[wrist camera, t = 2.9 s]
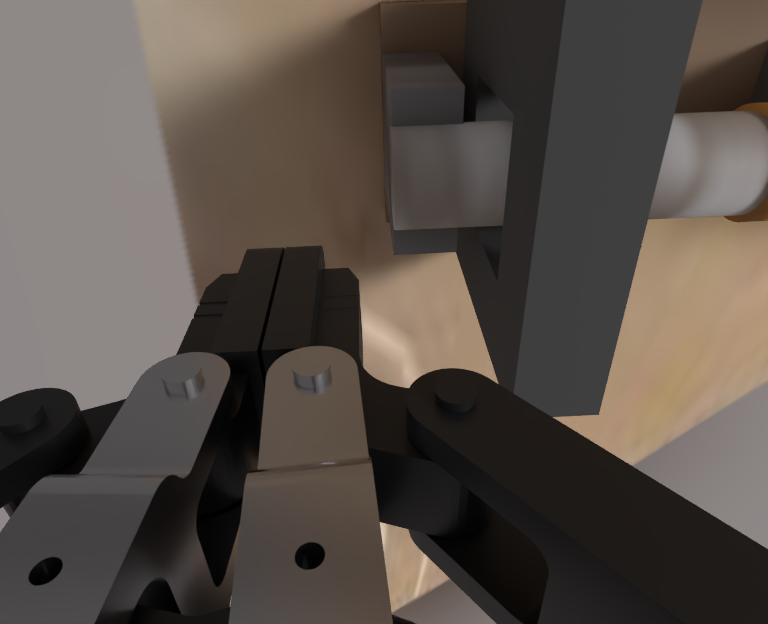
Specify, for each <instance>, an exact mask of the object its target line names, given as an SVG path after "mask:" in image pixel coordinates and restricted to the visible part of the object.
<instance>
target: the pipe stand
mask: <svg viewBox="0 0 768 624" xmlns="http://www.w3.org/2000/svg"><path fill="white" fill-rule="evenodd" d="M466 9H467V0H433V1H405V2H380V32H381V68H382V103H383V139H384V174H385V209H386V219H387V222H390V226H391V234H392V242H393V250H394V255H397V254H419V253H442V252H457V236H458V228H459V227H482V226H503V220H504V209H505V199H506V189H507V179H508V168H509V158H510V148H511V138H512V127H513V120H499V121H474V122H463V113H464V93H465V86H464V84H463V72H464V51H465V30H466ZM711 216H724V217H725V218H727V219H728V220H731V221H734V222H749V221H768V0H703V2H702V6H701V10H700V14H699V18H698V22H697V26H696V30H695V33H694V37H693V41H692V45H691V49H690V53H689V57H688V61H687V65H686V69H685V73H684V77H683V81H682V85H681V89H680V93H679V97H678V101H677V105H676V109H675V113H674V117H673V121H672V125H671V129H670V133H669V137H668V141H667V145H666V149H665V153H664V157H663V161H662V165H661V169H660V173H659V177H658V181H657V185H656V189H655V193H654V197H653V201H652V205H651V209H650V213H649V216H648V219H665V218H688V217H711Z"/></svg>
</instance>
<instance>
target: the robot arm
mask: <svg viewBox="0 0 768 624" xmlns="http://www.w3.org/2000/svg"><path fill="white" fill-rule="evenodd" d="M2 507H4V509H5V510H6V512H7V513H8V515H9V517H10V519H9V521H8V522H7V523H6V525H5V527H4V528H3V529H2V531H1V532H0V624H415V623H413V622H411V621H409V620H406V619H403V618H400V617H398V616H395V615H392V612H391V605H390V597H389V589H388V582H387V574H386V567H385V559H384V551H383V544H382V536H381V528H380V522H382V523H386V524H390V525H394V526H398V527H402V528H406V529H409V533H410V536H411V538H412V540H413V541H414V543H415V544H416V545H417V546H418V548H419V549H420V550H421V551H422V552H423V553H424V554H425V555H427V556H428V557H429V558H430V559H431V560H432V561H433V562H434V563H435V564H436V565H437V566H438V567H439V568H440V569H441V570H442V571H443V572H444V573H445V574H446V575H447V576H448V577H449V578H450V579H451V580H452V581H453V582H454V583H455V584H457V586H458V587H459V588H461V589H462V590H463V591H464V592H465V593H466V594H467V595H468V596H469V597H470V598H471V599H472V600H473V601H474V602H475V603H476V604H477V605H478V606H479V607H480V608H481V609H482V610H483V611H484V612H485V613H486V614H487V615H488V616H490V618H491V619H493V620H494V621H495V622H496V623H497V624H768V549H766V548H765V547H763V546H762V545H760V544H758V543H757V542H755V541H753V540H752V539H750V538H748V537H747V536H745V535H744V534H742V533H740V532H739V531H737V530H735V529H734V528H732V527H731V526H729V525H727V524H725V523H724V522H722V521H721V520H719V519H718V518H716V517H714V516H713V515H711V514H709V513H708V512H706V511H704V510H703V509H701V508H700V507H698V506H696V505H695V504H693V503H691V502H690V501H688V500H686V499H685V498H683V497H682V496H680V495H678V494H676V493H675V492H673V491H672V490H670V489H669V488H667V487H665V486H664V485H662V484H660V483H659V482H657V481H656V480H654V479H652V478H651V477H649V476H647V475H646V474H644V473H642V472H641V471H639V470H638V469H636V468H634V467H633V466H631V465H629V464H628V463H626V462H624V461H623V460H621V459H620V458H618V457H616V456H615V455H613V454H611V453H610V452H608V451H607V450H605V449H603V448H602V447H600V446H598V445H597V444H595V443H593V442H592V441H590V440H589V439H587V438H585V437H584V436H582V435H580V434H579V433H577V432H575V431H574V430H572V429H571V428H569V427H567V426H566V425H564V424H562V423H561V422H559V421H558V420H556V419H554V418H553V417H551V416H549V415H548V414H546V413H544V412H543V411H541V410H540V409H538V408H536V407H535V406H533V405H531V404H530V403H528V402H527V401H525V400H523V399H522V398H520V397H518V396H517V395H515V394H513V393H512V392H510V391H509V390H507V389H505V388H504V387H502V386H500V385H499V384H497V383H495V382H494V381H492V380H491V379H489V378H487V377H485V376H483V375H482V374H479V373H476V372H474V371H470V370H465V369H455V368H449V369H440V370H435V371H432V372H429V373H427V374H425V375H423V376H421V377H419V378H418V379H417V380H415V381H414V382H413V384H412V385H411V386H410V388H403V387H398V386H394V385H389V384H387V383H384V382H381V381H379V380H377V379H375V378H374V377H372V376H371V375H370V374H369V373H368V372H367V371H366V370H365V369H364V368H363V340H362V325H361V309H360V293H359V280H358V279H357V278H356V276H355V275H354V274H353V273H352V272H351V271H350V269H349V268H337V269H325V262H324V253H323V248H322V246H304V247H286V248H285V249H284V248H263V249H247V251H246V253H245V256H244V258H243V261H242V264H241V267H240V269H239V272H238V273H235V274H222V275H221V276H220V277H218V278H217V279H216V280H215V281H214V282H212V283H211V284H210V285H209V286H208V287H206V289H205V291H204V294H203V296H202V298H201V300H200V306H198V307H197V309H196V312H195V314H194V319H192V321H191V323H190V325H189V327H188V330H187V332H186V334H185V336H184V339H183V341H182V343H181V345H180V348H179V350H178V352H177V354H176V355H175V356H172V357H169V358H167V359H164V360H162V361H160V362H158V363H157V364H155V365H153V366H152V367H151V368H149V369H148V370H147V371H146V372H145V373H144V374H143V375H142V376H141V377H140V379H139V380H138V381H137V383H136V385H135V386H134V388H133V389H132V391H131V393H130V394H129V396H128V397H127V399H124V400H121V401H118V402H113V403H110V404H106V405H102V406H98V407H95V408H91V409H87V410H83V411H81V410H80V408H79V406H78V404H77V401H76V399H75V397H74V396H73V395H72V394H71V393H69V392H67V391H66V390H62V389H57V388H41V389H34V390H30V391H26V392H22V393H19V394H16V395H14V396H11V397H9V398H7V399H4V400H2V401H1V402H0V508H2ZM231 596H232V598H231ZM230 600H231V607H229V606H230Z"/></svg>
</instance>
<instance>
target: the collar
mask: <svg viewBox="0 0 768 624" xmlns="http://www.w3.org/2000/svg"><path fill="white" fill-rule="evenodd" d="M702 2H703V0H467V9H466V30H465V51H464V72H463V84H464V86H465V93H464V113H463V122H474V121H499V120H513V127H512V138H511V148H510V158H509V168H508V179H507V189H506V199H505V209H504V220H503V226H482V227H459V228H458V236H457V252H456V254H457V257H458V260H459V263H460V266H461V269H462V272H463V275H464V278H465V281H466V284H467V287H468V291H469V294H470V297H471V300H472V303H473V306H474V309H475V312H476V315H477V318H478V321H479V324H480V327H481V331H482V334H483V337H484V340H485V343H486V346H487V349H488V352H489V355H490V358H491V361H492V364H493V368H494V371H495V374H496V377H497V380H498V383H499V385H500V386H502V387H504V388H505V389H507V390H509V391H510V392H512V393H513V394H515V395H517V396H518V397H520V398H522V399H523V400H525V401H527V402H528V403H530V404H531V405H533V406H535V407H536V408H538V409H540V410H541V411H543V412H544V413H546V414H548V415H549V416H551V417H561V416H581V415H599V411H600V407H601V403H602V399H603V395H604V392H605V388H606V384H607V380H608V376H609V372H610V368H611V364H612V360H613V356H614V352H615V348H616V344H617V340H618V336H619V332H620V328H621V324H622V320H623V316H624V312H625V308H626V304H627V300H628V296H629V292H630V288H631V284H632V280H633V276H634V272H635V268H636V264H637V260H638V256H639V252H640V248H641V244H642V240H643V236H644V232H645V228H646V224H647V220H648V216H649V213H650V209H651V205H652V201H653V197H654V193H655V189H656V185H657V181H658V177H659V173H660V169H661V165H662V161H663V157H664V153H665V149H666V145H667V141H668V137H669V133H670V129H671V125H672V121H673V117H674V113H675V109H676V105H677V101H678V97H679V93H680V89H681V85H682V81H683V77H684V73H685V69H686V65H687V61H688V57H689V53H690V49H691V45H692V41H693V37H694V33H695V30H696V26H697V22H698V18H699V14H700V10H701V6H702Z"/></svg>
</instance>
